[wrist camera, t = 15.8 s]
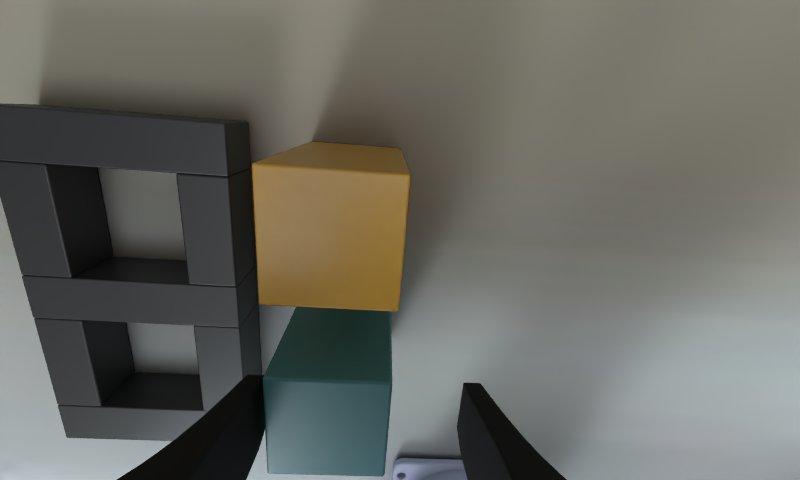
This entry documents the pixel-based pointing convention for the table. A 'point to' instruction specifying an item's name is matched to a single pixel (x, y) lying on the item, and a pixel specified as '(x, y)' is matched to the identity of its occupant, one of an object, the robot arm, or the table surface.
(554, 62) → the table surface
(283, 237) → the ochre peg
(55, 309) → the holder
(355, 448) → the teal peg
